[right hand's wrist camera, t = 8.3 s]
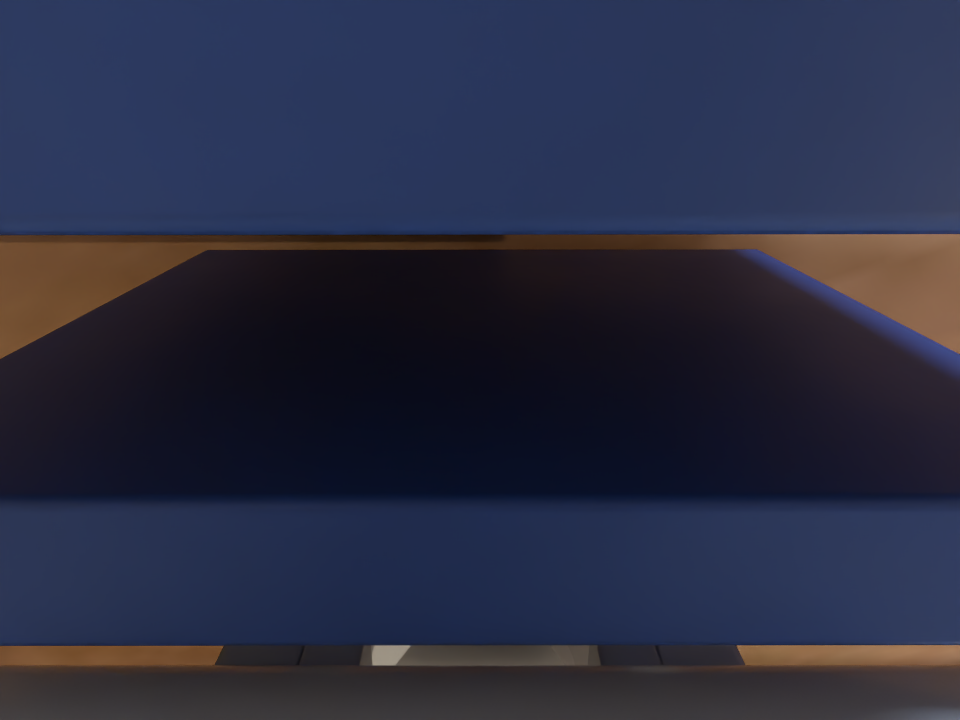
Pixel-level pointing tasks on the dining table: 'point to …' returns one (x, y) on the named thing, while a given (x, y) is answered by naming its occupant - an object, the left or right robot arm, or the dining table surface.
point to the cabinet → (479, 117)
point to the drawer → (480, 459)
